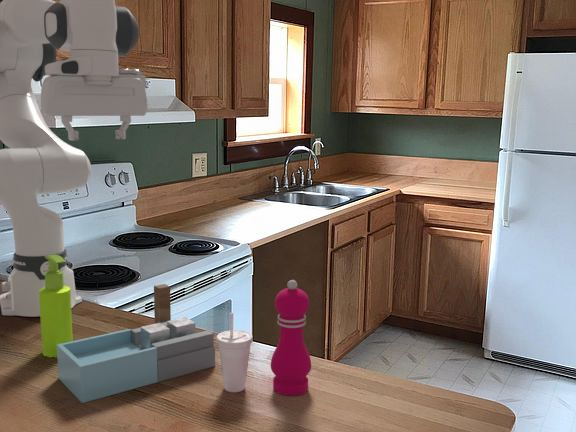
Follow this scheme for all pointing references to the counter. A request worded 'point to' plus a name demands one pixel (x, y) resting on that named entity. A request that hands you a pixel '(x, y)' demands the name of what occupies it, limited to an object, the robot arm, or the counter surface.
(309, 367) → the pepper mill
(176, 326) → the grey cube
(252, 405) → the counter surface
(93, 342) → the tray
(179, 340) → the groove board
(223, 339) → the smoothie
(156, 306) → the brown bar
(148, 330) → the light grey cube
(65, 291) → the soap dispenser
